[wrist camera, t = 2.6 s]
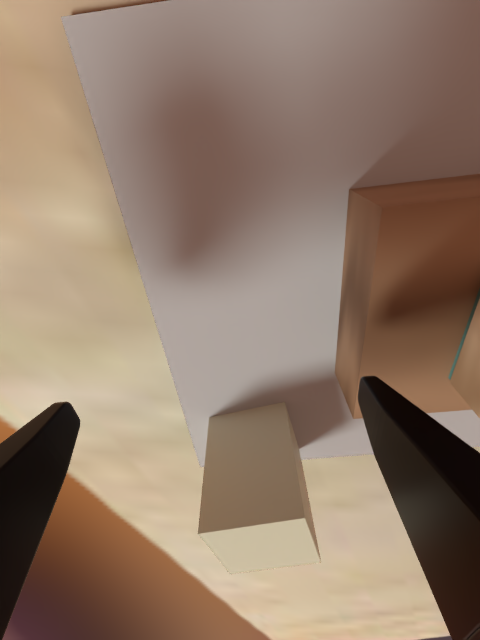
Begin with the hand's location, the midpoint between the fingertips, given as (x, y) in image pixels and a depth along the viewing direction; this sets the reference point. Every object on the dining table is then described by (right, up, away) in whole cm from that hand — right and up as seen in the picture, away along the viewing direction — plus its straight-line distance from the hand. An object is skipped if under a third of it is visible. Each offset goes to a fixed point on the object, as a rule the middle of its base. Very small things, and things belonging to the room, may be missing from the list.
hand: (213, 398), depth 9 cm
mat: (+10, +3, +5) cm, 11 cm away
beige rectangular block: (+2, -5, +9) cm, 10 cm away
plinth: (+10, +4, +4) cm, 11 cm away
